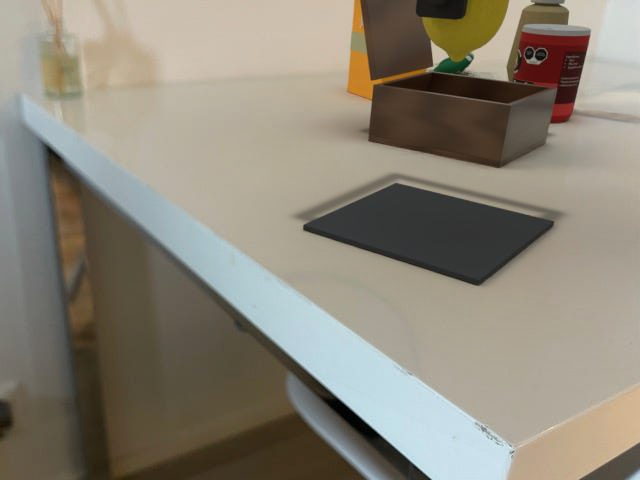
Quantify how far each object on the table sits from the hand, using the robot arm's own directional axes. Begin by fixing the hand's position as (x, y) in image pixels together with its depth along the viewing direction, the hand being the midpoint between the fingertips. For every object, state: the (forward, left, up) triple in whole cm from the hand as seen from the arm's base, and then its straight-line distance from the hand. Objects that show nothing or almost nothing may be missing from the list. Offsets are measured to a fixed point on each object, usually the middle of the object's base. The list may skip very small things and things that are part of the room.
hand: (461, 12), depth 44 cm
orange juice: (+30, -44, -16) cm, 55 cm away
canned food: (+8, -46, -16) cm, 49 cm away
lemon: (0, 0, -3) cm, 3 cm away
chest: (+10, -26, -15) cm, 32 cm away
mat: (0, 0, -15) cm, 15 cm away
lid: (+19, -26, -1) cm, 32 cm away
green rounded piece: (+31, -69, -16) cm, 77 cm away
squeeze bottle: (+15, -62, -16) cm, 66 cm away
